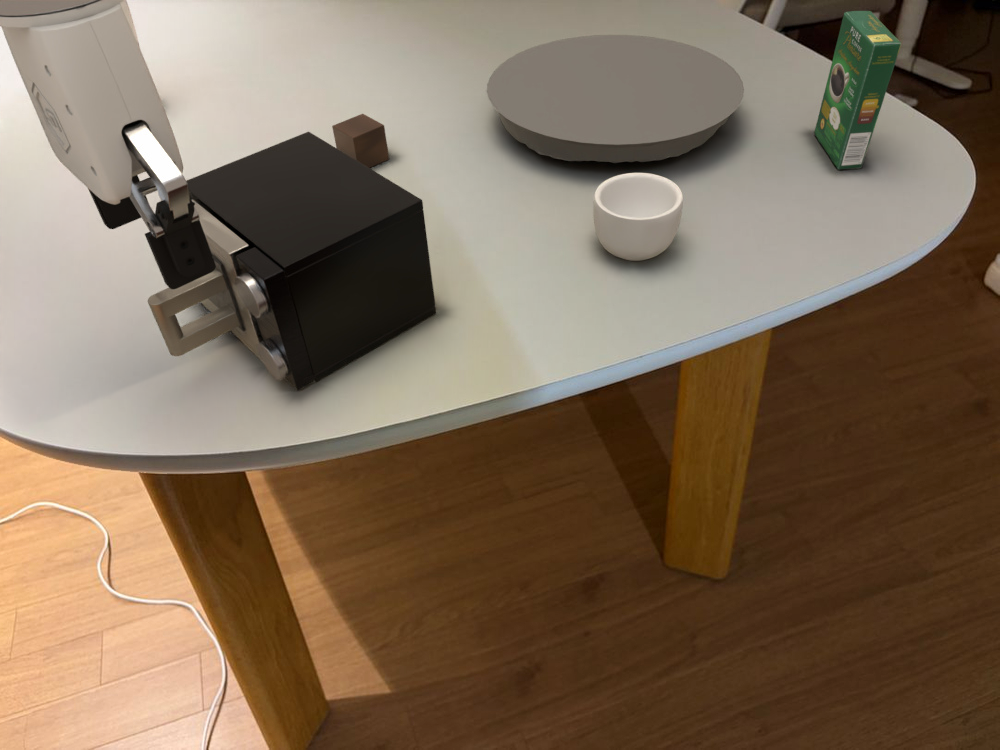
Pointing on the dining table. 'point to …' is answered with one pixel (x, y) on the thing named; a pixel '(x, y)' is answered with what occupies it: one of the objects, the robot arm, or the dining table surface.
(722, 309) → the dining table surface
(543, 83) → the flat disc
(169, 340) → the microwave door
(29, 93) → the robot arm
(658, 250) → the teacup
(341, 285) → the microwave
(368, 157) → the block
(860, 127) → the coffee box
